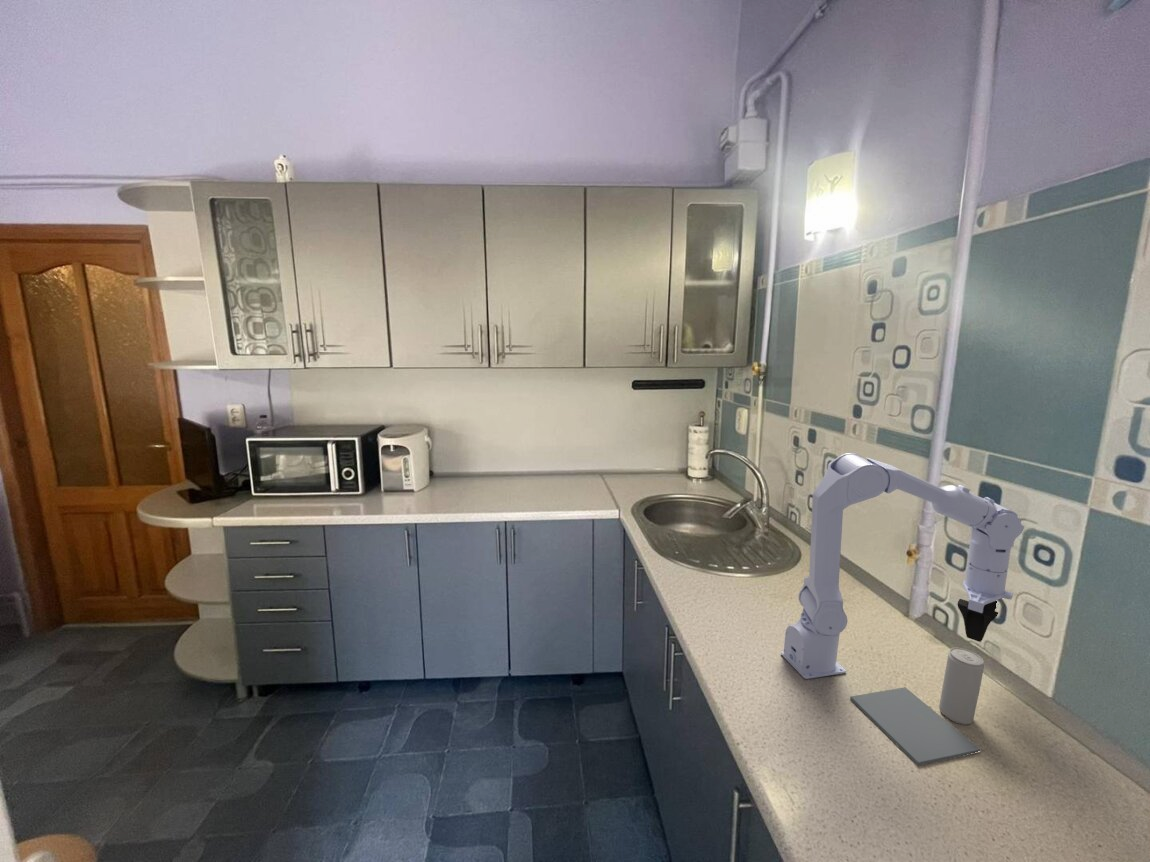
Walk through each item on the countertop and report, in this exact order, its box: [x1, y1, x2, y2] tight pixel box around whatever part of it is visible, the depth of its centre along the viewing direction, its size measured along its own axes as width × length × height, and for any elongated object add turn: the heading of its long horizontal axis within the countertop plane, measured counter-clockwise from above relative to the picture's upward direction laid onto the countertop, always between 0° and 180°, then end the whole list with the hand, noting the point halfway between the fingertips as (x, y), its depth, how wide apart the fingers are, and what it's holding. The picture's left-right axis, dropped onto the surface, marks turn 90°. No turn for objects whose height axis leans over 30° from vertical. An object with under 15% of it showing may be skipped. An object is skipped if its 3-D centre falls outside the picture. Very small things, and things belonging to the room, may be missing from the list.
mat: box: [850, 686, 982, 766], centre depth 81 cm, size 12×14×1 cm
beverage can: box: [938, 647, 985, 725], centre depth 82 cm, size 5×5×12 cm
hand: (978, 630), depth 90 cm, fingers open, 7 cm apart
